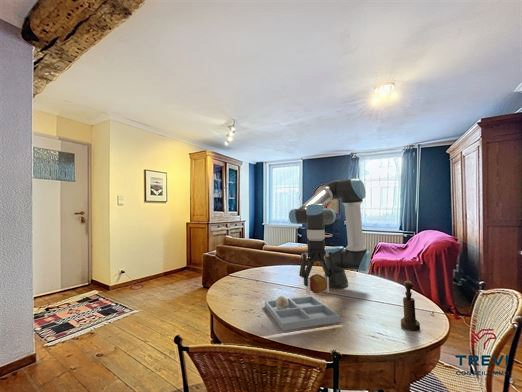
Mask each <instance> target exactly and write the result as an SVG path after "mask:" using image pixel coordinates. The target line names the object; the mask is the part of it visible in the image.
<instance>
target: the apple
mask: <svg viewBox="0 0 522 392" xmlns="http://www.w3.org/2000/svg"><path fill="white" fill-rule="evenodd" d="M308 278H309V279H310V292H312V293H314V294H319V293H321V292H323V291H324V290H326V288H327V282H326V280H325V278H324V275H321V274H319V273H315V274H312V275H311V276H310V277H308ZM324 292H325V291H324Z"/></svg>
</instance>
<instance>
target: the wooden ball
mask: <svg viewBox="0 0 522 392" xmlns="http://www.w3.org/2000/svg"><path fill="white" fill-rule="evenodd" d="M287 299H288V298H287V297H286V296H282V295H281V296H279V297H277V298H276V299H275V300H276V307H277V308H278V309H279V310H282V309H287V308H288V305H289V302H288V300H287Z"/></svg>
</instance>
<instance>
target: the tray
mask: <svg viewBox="0 0 522 392" xmlns="http://www.w3.org/2000/svg"><path fill="white" fill-rule="evenodd" d="M276 300H277V299H272V300H265V301H264V307H265V309H266V310H267V311H268V313H269V314H270V315H271V316H272V318H273V319H274V321H275V322H276V323H277V325H278V326H279V328H280V329H281V331H289V330H290V331H289V333H292V332H291V331H292V330H294V329H296V330H295V332H298V331H299V332H300V329H301V328H303V329H302V331H304V330H305V329H306V328H308V330H312V329H314V327H315V326H318V327H315V329H318V328H320V326H321V325H324V326H321V328H325V327H327V324H329V325H328V327H330V326H331V327H332V326H333V324H334V323H335V324H334V326H337V325H338V326H339V325H340V322H341V315H340V314H339V313H337V312H336V311H335V310H333V309H332V308H330V307H329V306H328V305H326V304H324V303H323V302H322V301H321V300H320V299H318V298H317V297H315V296H314V295H307V296H296V297H290V298H287V300H288V302H289V305H288V308H287V309H282V310H279V309H278V308H277V307H276ZM336 323H337V324H336ZM309 327H311V328H309ZM297 329H298V330H297Z"/></svg>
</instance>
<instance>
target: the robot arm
mask: <svg viewBox="0 0 522 392" xmlns="http://www.w3.org/2000/svg"><path fill="white" fill-rule="evenodd" d="M365 198H366V187H365V184H364V183H363V181H362V179H359V178H348V179H341V180H340V179H339V180H338V179H337V180H332V181H329V182H328V183H326V184H324V185H322V186H321V187H320V188H318V190H317V191H316V193H315V194H314V195H313V196H311V198H309V199H308V200H307V201H306V202H305V203H303V204H302V205H300V207H299V208H291V210H289V212H288V219H289V220H288V221H289V222H290V224H296V225H306V237H307V238H306V239H307V241H306V243H307V244H306V245H307V246H306V247H307V252H304V253H303V252H302V253H301V254H300V257H301V259H300V266H299V267H300V268H299V277H300V278H302V279H303V286H304V287H305V294H307V296H311V290H310V279H309V276H310V274H311V271H312V268H313V265H314V264H315V262H319V263H320V265H321V268H322V271H323V272H324V275H323V277H324V278H325V280H326V282H327V288H326V290H324V292H326V293H330V288H333V287H334V289H343V288H342V287H344V288H347V287H348V286H349V281H348V278H347V275H346V270H352V271H358V272H367V271H368V269H369V268H370V265H371V262H372V261H371V257H372V254H371V252H370V251H369V250H367V246H365V244H364V236H363V235H364V234H363V224H362V222H363V221H362V212H361V211H362V210H361V204H362V203H363V200H364V199H365ZM335 200H338V201H339V200H341V204H342V205H343V206H344V212H345V213H344V215H345V225H346V237H347V245H346V247H344V246H342V245H341V246H330V247H326V240H325V239H326V234H325V233H326V232H325V225H331V224H333V223H334V222H335V221H336V218H337V215H336V212H335V210H334V209H332V208H329V207H327V208H325V206H324V205H325V204H326V203H329V202H331V201H335ZM307 258H308V259H307ZM335 287H336V288H335Z"/></svg>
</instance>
